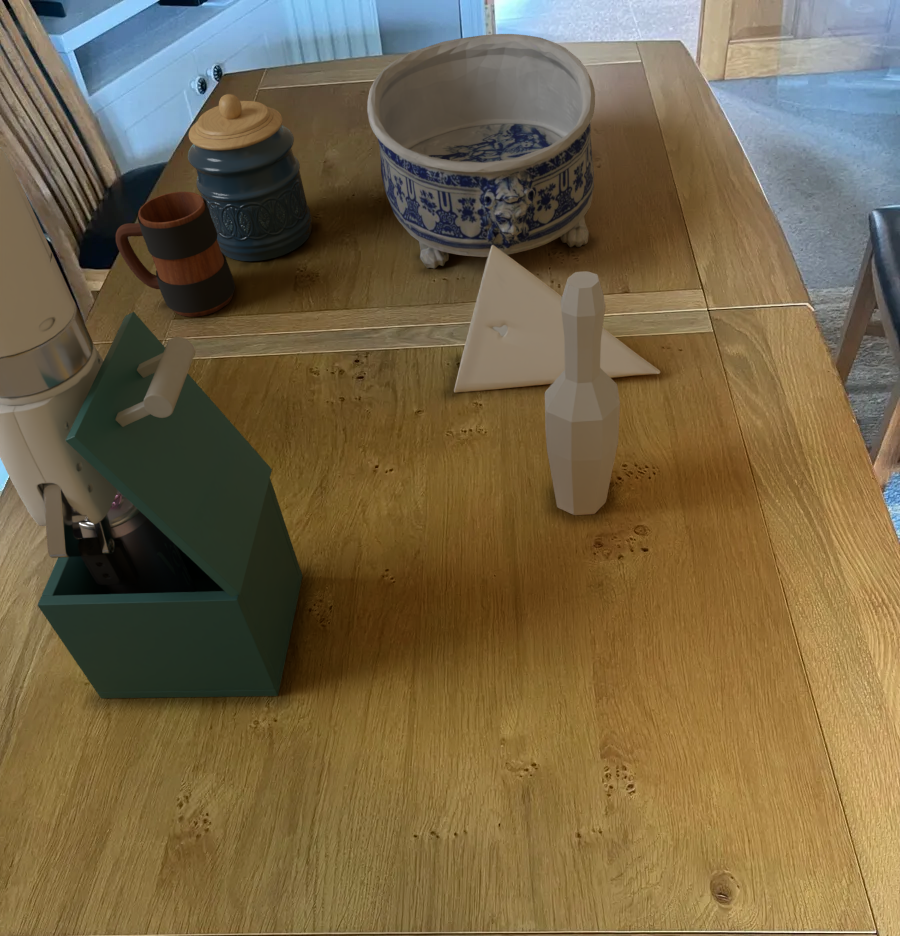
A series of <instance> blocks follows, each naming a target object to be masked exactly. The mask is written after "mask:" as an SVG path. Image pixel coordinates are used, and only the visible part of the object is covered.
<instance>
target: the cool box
mask: <svg viewBox="0 0 900 936" xmlns="http://www.w3.org/2000/svg"><path fill="white" fill-rule="evenodd" d="M176 547H177V549H178V551H179V553H180V555H181V557H182V560H183V562H184V564H185V566H186V568H187V570H188V573H189V575H190V577H191V579H192V581H193V583H194V585H195V588H196V590H197V592H171V593H133V594H112V593H111V592H110V590H109V588H108V586H107V585H99V584H97V583H96V581H95V580H94V578H93V576H92V575H91V573H90V571H89V570H88V568H87V566H86V564H85V563H84V561H83V559H82V558H81V556H77V557H62V558H56V561H55V564H54V566H53V568H52V570H51V573H50V575H49V578H48V580H47V581H46V584H45V586H44V588H43V591H42V593H41V596H40V598H39V601H38V602H37V608H39V610H40V611H41V613H42V615H43V616H44V618H45V619H46V620H47V622H48V623H49V624H50V626H51V627H52V629H53V630H54V632H55V633H56V635H57V637H58V638H59V639H60V640H61V642H62V643H63V645H64V647H65V648H66V649H67V651H68V653H69V655H71V657H72V659H73V660H74V661H75V663H76V664H77V665H78V667H79V669H80V670H81V672H82V673H83V674H84V676H85V677H86V679H87V680H88V682H89V684H90V685H91V686H92V688H93V690H94V691H95V692H96V693H97V695H98V696H99V698H100V699H151V698H153V699H154V698H155V699H156V698H157V699H159V698H166V699H167V698H227V697H228V698H229V697H231V698H232V697H233V698H235V697H239V698H240V697H278V696H279V693H280V689H281V684H282V680H283V679H282V678H283V674H284V668H285V663H286V659H287V654H288V649H289V643H290V639H291V635H292V629H293V624H294V620H295V615H296V609H297V605H298V600H299V595H300V590H301V585H302V582H303V581H302V580H303V574H302V573H303V572H302V569H301V567H300V564H299V561H298V557H297V555H296V552H295V548H294V545H293V543H292V539H291V537H290V533H289V532H288V528H287V525H286V522H285V519H284V516H283V513H282V510H281V506H280V504H279V500H278V498H277V495H276V492H275V489H274V484H273V482H272V479H271V478H270V479H269V483H268V487H267V491H266V495H265V499H264V503H263V507H262V511H261V514H260V518H259V522H258V526H257V530H256V534H255V538H254V542H253V545H252V549H251V553H250V557H249V561H248V565H247V569H246V573H245V577H244V580H243V584H242V588H241V592H240V594H239V595H236V596H233V597H231V596H230V595H228V594H227V593H226V592H225V591H224V590H223V589H222V588H221V587H220V586H219V585H218V584H217V583H216V582H215V581H214V580H213V579H212V578H210V577H209V576H208V575H207V574H206V573H205V572H204V571H203V570H202V569H201V568H200V567H199V566H198V565H197V564H196V563H195V562H193V561H192V560H191V559H190V558H189V557H188V556H187V555H186V554H185V553H184V552H183V551H182V550H181V549H180V548H179V547H178V546H177V545H176Z"/></svg>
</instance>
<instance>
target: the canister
mask: <svg viewBox="0 0 900 936" xmlns="http://www.w3.org/2000/svg"><path fill="white" fill-rule="evenodd" d="M188 138H189V141H190V143H192V145H191V146H190V148H189V150H188V153H187V159H188V162H189V163H190V165H191V166H192V167H193V168H194V169H196V170H195V171H196V175H197V177H196V183H195V184H196V188H197V190H198V192H199V193H200V196H201V197H202V198H203V199H205V201H206V202H207V205H208V208H209V211H210V215H211V217H212V220H213V223H214V226H215V229H216V231H217V241H218V244H219V247H220V250H221V252H222V253H223V254H224V256H225V257H226V258H230V259H232V260H236V261H241V262H261V261H266V260H272V259H276V258H279V257H282V256H284V255H287V254H289V253H291V252H294V251H295V250H297V249H299V248H300V247H301V246H302V245H303V244H304V243H306V242H307V240H308V239H309V238H310V236H311V234H312V231H313V230H312V228H313V227H312V215H311V209H310V207H309V205H308V202H307V197H306V194H305V193H306V192H305V189H304V184H303V180H302V175H301V171H300V170H301V169H300V168H301V165H300V161H299V160H298V158H297V157H296V156H295V155H294V152H293V149H292V148H293V146H294V141H295V136H294V134H293V133H292V131H291V130H290V129H289V128H288V127H286V126H284V125H283V117H282V115H281V113H280V112H279V111H278V110H277V109H275V108H273V107H269V106H266V104H264V103H262V102H259V101H255V100H254V101H253V100H240V99H239V98H238V97H237V96H236V95H235V94H233V93H227V94H224V95H222V96H221V97H220V99H219V101H218V105H217V106H214V107H211V108H210V109H207V110H206V111H204V112H203V113H202V114H201V115H200V116H199V118H198V119H197V120H196V122H195V123H193V125H192V126H191V127H190V129H189V132H188Z"/></svg>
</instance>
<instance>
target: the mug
mask: <svg viewBox="0 0 900 936" xmlns="http://www.w3.org/2000/svg"><path fill="white" fill-rule="evenodd" d="M137 213H138V214H137V222H136V223H132V222H131V223H130V222H129V223H124V224H122V225H120V226H119V227H118V228H117V230H116V232H115V244H116V246H117V249H118V251H119V254H120V255H121V257H122V259H123V261H124V262H125V263H126V265H127V267H128V268H129V269H130V270H131V272H132V273H133V274H134V275H135V276H136V278H137V279H138V280H140V281H141V282H142V283H143V284H144V285H146V286H147V287H149V288H152V289H154V290H159V291H160V293H161V296H162V298H163V301H164V303H165V305H166V306H167V308H169V310H172V312H174V313H175V314H176V315H178V316H183V317H188V318H196V317H205V316H208V315H211V314H213V313H216V312H218V311H220V310H222V309H223V308H224V307H226V306H227V305H228V304H229V303H230V302H231V301H232V299H233V296H234V292H235V289H236V284H235V280H234V277H233V274H232V271H231V269H230V266H229V263H228V260H227V257H226V256H225V255H224V254H223V253H222V252H221V250H220V247H219V244H218V241H217V231H216V229H215V226H214V223H213V220H212V217H211V215H210V211H209V208H208V205H207V202H206V201H205V199H203V198H202V196H201V194H199V193H196V192H192V191H175V192H168V193H164V194H161V195H158V196H155V197H153V198H151V199H150V200H148V201H146V202H144V203H143V204H142V205H141V206H140V208H139V210H138V212H137ZM129 237H143V240H144V242H145V243H144V244H145V246H146V247H147V250H148V253H149V254H150V255H151V258H152V261H153V263H154V266H155V269H156V270H155V274H154V273H152V272H151V271H150V270H149V269H147V267H146V265H144V264H143V262H142V261H141V260H140V259H139V257H138V255H137V254H136V252H135V251H134V248H133V247H132V245H131V243H130V240H129Z"/></svg>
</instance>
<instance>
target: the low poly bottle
mask: <svg viewBox="0 0 900 936" xmlns="http://www.w3.org/2000/svg"><path fill="white" fill-rule="evenodd" d="M561 296H562V299H561V311H562V320H563V329H564V353H565V370H564V371H563V372H562V373H561V375H560V376H559V377H558V378H557V379H556V380H555V381H554V382H553V384H550V385H549V387H548V388H547V389H546V390H545V391H544V423H545V426H544V427H545V442H546V454H547V458H548V464H549V469H550V475H551V482H552V486H553V492H554V498H555V502H556V503H555V504H556V508H558V509H560V510H562V511H564V512H567V513H569V514H571V515H572V516H583V515H596V513H597V512H598V511H599V510H601V508H602V507H603V506H604V505H605V504H606V503H607V500H608V499H607V498H608V493H609V489H610V484H611V480H612V475H613V469H614V464H615V460H616V455H617V451H618V447H619V446H618V445H619V433H620V413H621V411H620V410H621V401H620V394H619V387H618V383H617V382H615V380H613V378H610V377H609V376H608V375H607V374H606V373H605V372H604V371H603V370H602V369H601V368H600V353H601V336H602V329H603V328H604V320H605V313H606V300H605V295H604V291H603V288H602V285H601V282H600V277H599V274H597V273H594V272H590V271H575V272H573V273H572V274H571V275H570V276H568V277H567V280H566V282H565V286H564V289H563V293H562V294H561Z"/></svg>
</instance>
